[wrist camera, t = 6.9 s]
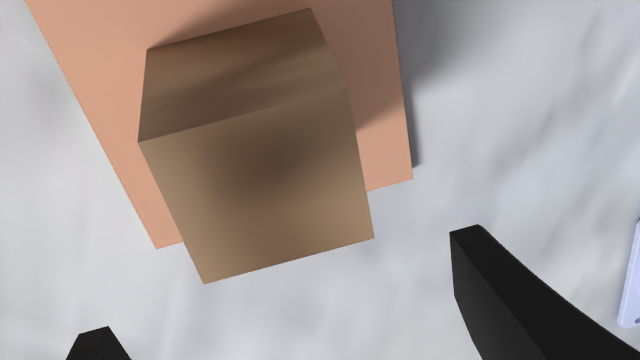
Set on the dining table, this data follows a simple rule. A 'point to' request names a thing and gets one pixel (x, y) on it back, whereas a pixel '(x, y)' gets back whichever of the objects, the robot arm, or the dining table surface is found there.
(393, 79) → the terracotta tile
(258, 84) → the walnut cube
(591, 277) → the dining table surface
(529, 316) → the robot arm
